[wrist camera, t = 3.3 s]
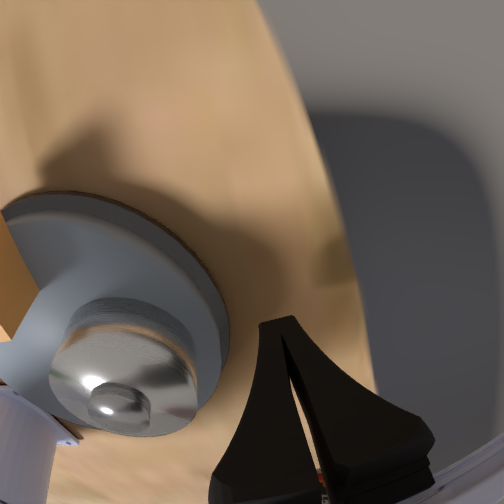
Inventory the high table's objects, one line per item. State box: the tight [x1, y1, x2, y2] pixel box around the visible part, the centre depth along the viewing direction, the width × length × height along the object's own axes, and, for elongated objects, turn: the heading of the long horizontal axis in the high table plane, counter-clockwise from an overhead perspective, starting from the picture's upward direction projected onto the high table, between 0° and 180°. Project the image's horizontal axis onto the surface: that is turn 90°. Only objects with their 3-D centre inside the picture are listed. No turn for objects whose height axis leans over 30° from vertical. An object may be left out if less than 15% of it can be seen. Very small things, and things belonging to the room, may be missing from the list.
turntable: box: [0, 210, 222, 430], centre depth 12 cm, size 15×14×4 cm
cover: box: [49, 297, 197, 437], centre depth 11 cm, size 6×6×4 cm
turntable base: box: [1, 191, 230, 371], centre depth 14 cm, size 15×15×1 cm
